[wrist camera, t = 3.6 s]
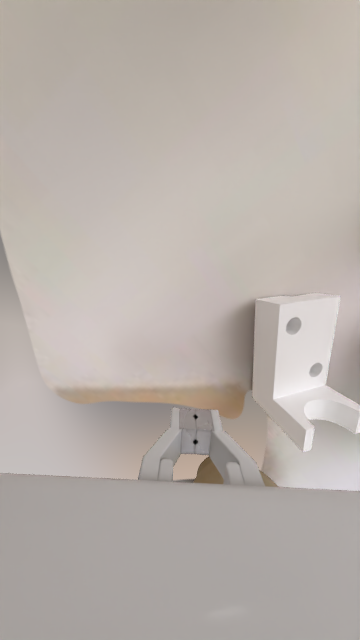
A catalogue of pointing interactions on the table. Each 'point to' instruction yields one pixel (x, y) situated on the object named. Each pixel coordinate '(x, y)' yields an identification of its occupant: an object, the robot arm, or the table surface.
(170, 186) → the table surface
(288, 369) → the bracket
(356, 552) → the robot arm
